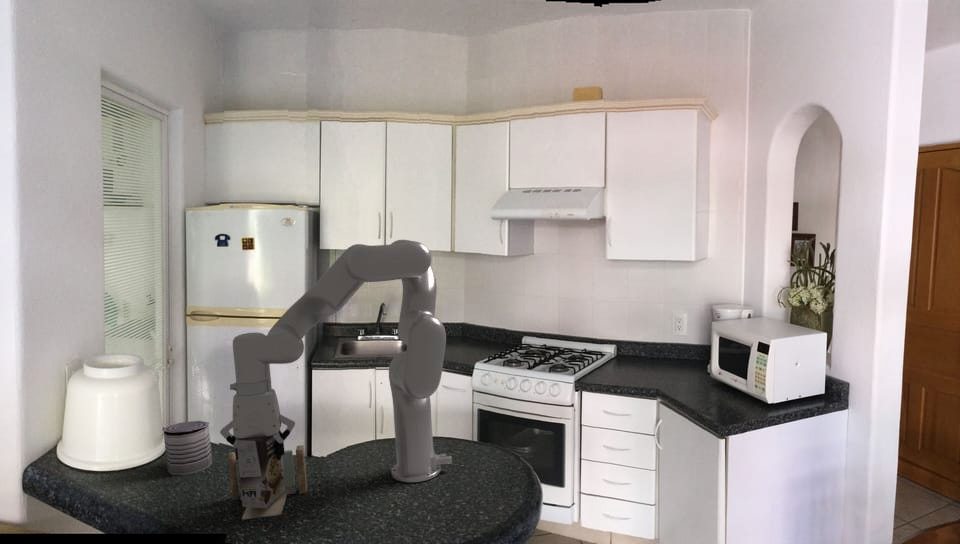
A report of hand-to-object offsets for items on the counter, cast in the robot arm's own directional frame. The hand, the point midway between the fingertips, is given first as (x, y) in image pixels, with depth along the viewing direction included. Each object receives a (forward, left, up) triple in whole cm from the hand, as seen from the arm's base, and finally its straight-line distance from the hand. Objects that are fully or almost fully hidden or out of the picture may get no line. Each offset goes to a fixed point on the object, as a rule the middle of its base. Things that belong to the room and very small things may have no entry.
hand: (261, 459), depth 149 cm
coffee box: (0, 0, -10) cm, 10 cm away
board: (0, 0, -12) cm, 12 cm away
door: (0, -7, -11) cm, 13 cm away
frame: (0, -7, -12) cm, 13 cm away
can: (+25, -31, -12) cm, 41 cm away
